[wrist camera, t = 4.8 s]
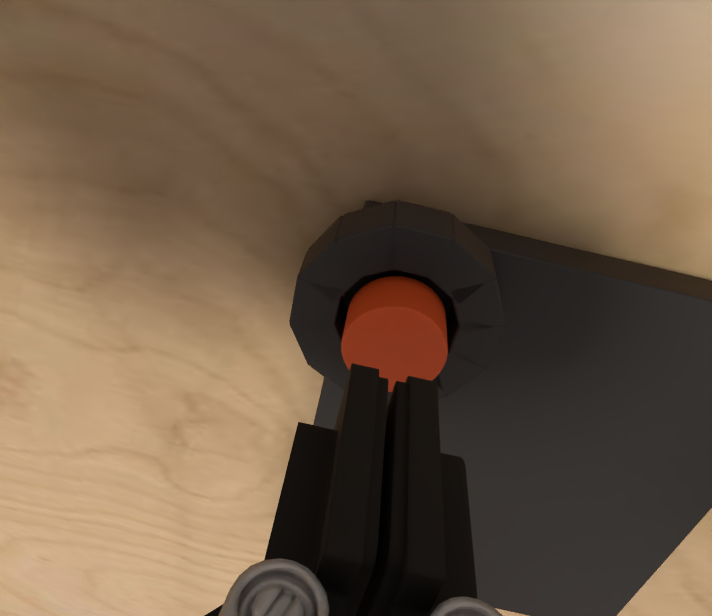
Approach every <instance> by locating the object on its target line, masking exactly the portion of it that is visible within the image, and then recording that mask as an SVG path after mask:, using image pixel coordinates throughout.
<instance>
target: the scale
mask: <svg viewBox="0 0 712 616" xmlns="http://www.w3.org/2000/svg"><path fill="white" fill-rule="evenodd" d="M388 276H403V277H409V278H412V279H415V280H418V281H420V282H422V283H424V284H425V285H427V286H428V287H429V288H431V289H432V290H433V291H434V292H435V293H436V294H437V295H438V297H439V298H440V300H441V301H442V303H443V306H444V309H445V313H446V328H447V344H448V354H447V359H446V363H445V365H444V367H443V369H442V370H441V372H440V373H439V374H438V375H437V376H436V378H434V379H433V380H432V381H435V382H437V386H438V407H439V429H440V451H441V453H444V454H449V455H453V456H458V457H462V458H463V460H464V462H465V467H466V476H467V487H468V498H469V509H470V520H471V531H472V542H473V553H474V564H475V575H476V586H477V597H478V599H479V600H481V601H483V602H485V603H487V604H488V605H490V606H492V607H494V608H498V609H502V610H507V611H511V612H516V613H521V614H525V615H530V616H616V615H617V614H618V613H619V612H620V611H621V610H622V609H623V608H624V606H625V605H626V604H627V603H628V602H629V601H630V600H631V598H632V597H633V596H634V595H635V594H636V593H637V592H638V591H639V589H640V588H641V587H642V586H643V585H644V584H645V583H646V581H647V580H648V579H649V578H650V577H651V576H652V575H653V574H654V572H655V571H656V570H657V569H658V568H659V567H660V566H661V564H662V563H663V562H664V561H665V560H666V559H667V558H668V557H669V555H670V554H671V553H672V552H673V551H674V550H675V549H676V547H677V546H678V545H679V544H680V543H681V542H682V541H683V540H684V538H685V537H686V536H687V535H688V534H689V533H690V532H691V531H692V529H693V528H694V527H695V526H696V525H697V524H698V523H699V521H700V520H701V519H702V518H703V517H704V516H705V515H706V514H707V512H708V511H709V510H710V509H711V508H712V282H711V281H707V280H703V279H699V278H694V277H690V276H686V275H682V274H678V273H673V272H669V271H665V270H661V269H657V268H652V267H648V266H644V265H640V264H636V263H631V262H627V261H623V260H619V259H614V258H610V257H606V256H602V255H598V254H593V253H589V252H585V251H581V250H577V249H572V248H568V247H564V246H560V245H556V244H551V243H547V242H543V241H539V240H535V239H530V238H526V237H522V236H518V235H513V234H509V233H505V232H501V231H497V230H492V229H488V228H484V227H480V226H476V225H471V224H467V223H463V222H461V221H460V220H459V219H458V218H457V217H456V216H455V215H453V214H451V213H450V212H446V211H441V210H437V209H433V208H429V207H425V206H420V205H416V204H412V203H408V202H404V201H399V200H398V201H391V202H388V203H384V204H383V203H379V202H375V201H370V200H366V202H365V205H364V209H362V210H358V211H354V212H350V213H347V214H345V215H344V216H340V217H339V218H338V219H337V220H336V221H335V223H334V224H333V225H332V226H331V227H330V228H329V229H328V230H327V231H326V232H325V233H324V234H323V235H322V236H321V237H320V238H319V239H318V240H317V241H316V242H315V243H314V244H313V245H312V246H311V247H310V248H309V250H308V251H307V254H306V256H305V259H304V261H303V264H302V267H301V269H300V272H299V274H298V277H297V281H296V287H295V293H294V298H293V304H292V310H291V316H290V326H291V328H292V330H293V332H294V335H295V337H296V339H297V341H298V343H299V346H300V348H301V350H302V352H303V354H304V357H305V359H306V361H307V363H308V365H311V367H312V368H313V369H315V370H316V371H317V372H319V373H320V374H321V375H323V376H324V382H323V386H322V390H321V395H320V399H319V403H318V407H317V412H316V416H315V420H314V425H315V426H319V427H324V428H328V429H333V430H334V427H335V423H336V419H337V416H338V412H339V408H340V404H341V400H342V397H343V393H344V389H345V385H346V381H347V378H348V374H349V369H348V368H347V366H346V364H345V362H344V360H343V357H342V352H341V342H342V337H343V332H344V327H345V322H346V317H347V313H348V308H349V305H350V302H351V300H352V298H353V297H354V295H355V294H356V293H357V292H358V291H359V290H360V289H361V288H362V287H363V286H365V285H366V284H368V283H369V282H371V281H374V280H376V279H379V278H382V277H388ZM343 295H344V296H343ZM391 394H392V392H388V398H387V406H388V403H389V400H390V397H391Z"/></svg>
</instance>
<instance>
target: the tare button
mask: <svg viewBox="0 0 712 616" xmlns="http://www.w3.org/2000/svg"><path fill="white" fill-rule="evenodd" d="M341 352H342V357H343V360H344V362H345V364H346V366H347V368H348V369H349V370H350V367H351V364H352V363H354V364H358V365H363V366H367V367H372V368H376V369H379V377H382V378H387V379H388V392H392V391H393V387H394V385H395V382H396V381H400V382H405V381H406V379H407V377H408V376H413V377H417V378H422V379H426V380H431V381H432V380H433V379H434V378H436V376H437V375H438V374H439V373H440V372H441V370H442V369H443V367H444V365H445V363H446V359H447V354H448V344H447V328H446V313H445V309H444V306H443V303H442V301H441V300H440V298H439V297H438V295H437V294H436V293H435V292H434V291H433V290H432V289H431V288H429V287H428V286H427V285H425V284H424V283H422V282H420V281H418V280H415V279H412V278H409V277H403V276H388V277H382V278H379V279H376V280H374V281H371V282H369V283H368V284H366V285H365V286H363V287H362V288H361V289H360V290H359V291H358V292H357V293H356V294H355V295H354V297H353V298H352V300H351V302H350V305H349V308H348V313H347V317H346V322H345V327H344V332H343V337H342V342H341Z"/></svg>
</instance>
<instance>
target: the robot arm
mask: <svg viewBox="0 0 712 616" xmlns="http://www.w3.org/2000/svg"><path fill="white" fill-rule="evenodd" d="M387 398H388V379H387V378H382V377H379V369H376V368H372V367H367V366H363V365H358V364H354V363H352V364H351V367H350V370H349V374H348V378H347V381H346V385H345V389H344V393H343V397H342V400H341V404H340V408H339V412H338V416H337V419H336V423H335V427H334V430H333V429H328V428H324V427H319V426H315V425H310V424H305V423H301V422H298V426H297V430H296V434H295V438H294V442H293V446H292V450H291V454H290V458H289V462H288V466H287V471H286V475H285V479H284V483H283V487H282V491H281V495H280V499H279V503H278V507H277V511H276V515H275V519H274V523H273V527H272V531H271V536H270V540H269V544H268V548H267V552H266V556H265V560H264V561H261V562H259V563H257V564H254V565H252V566H250V567H249V568H248V569H247V570H245V571H244V572H243V573H242V574H241V575H239V577H238V578H237V580H236V581H235V583H234V584H233V586H232V587H231V589H230V591H229V593H228V595H227V597H226V600H225V602H224V604H223V605H221V606H220V607H218V608H216V609H215V610H213V611H211V612H210V613H208V614H207V615H205V616H503V615H502V614H500V613H499V612H498V611H497V610H496V609H495V608H494V607H492V606H490V605H488V604H487V603H485V602H483V601H481V600H479V599H478V597H477V586H476V575H475V564H474V553H473V542H472V531H471V520H470V509H469V498H468V487H467V476H466V467H465V462H464V460H463V458H462V457H458V456H453V455H449V454H444V453H441V451H440V429H439V407H438V386H437V382H435V381H431V380H426V379H422V378H417V377H413V376H408V377H407V379H406V381H405V382H400V381H396V382H395V385H394V387H393V391H392V394H391V397H390V400H389V403H388V406H387Z"/></svg>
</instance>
